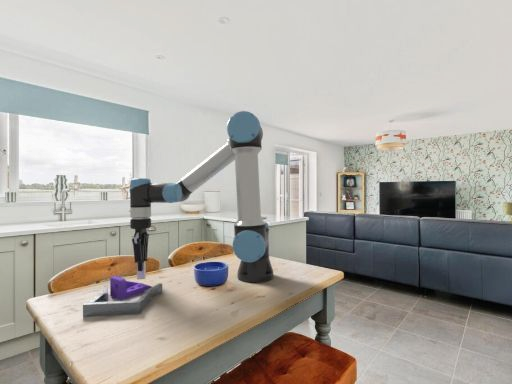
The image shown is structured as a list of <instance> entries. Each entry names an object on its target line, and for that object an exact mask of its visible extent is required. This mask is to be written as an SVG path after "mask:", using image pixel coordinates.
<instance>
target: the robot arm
mask: <svg viewBox="0 0 512 384" xmlns="http://www.w3.org/2000/svg"><path fill="white" fill-rule="evenodd" d="M226 132H227V135H228V138H227V142H226V143H225V144H224V145H223V146H221V147H220V148H218V149H217V150H216V151H214V153H212V154H211V155H210V156H208V157H206V159H204V160H203V161H202V162H201V163H199V164H198V165H197V166H195V167H194V168H193V169H192V170H191V171H189V172H188V173H187V174H186V175H184V176H183V177H182V178H180V180H178V181H177V182H176V183H175V182H168V183H167V182H164V183H163V182H161V183H152V181H151V179H150V178H145V177H144V178H143V177H142V178H131V180H130V183H129V197H130V198H129V203H130V204H129V205H130V208H129V210H128V212H129V213H130V214H129V216H130V221H129V222H130V223H129V225H130V226H129V227H130V229H131V230H134V234H133V237H132V239H131V242H132V248H133V257H134V261H133V262H134V263H135V264H136V279H137V280H145V279H146V275H147V273H146V262H148V261H149V259H148V251H149V249H148V248H149V236H150V234H149V233H148V231H147V229H150V228H151V227H152V218H151V217H152V204H153V203H154V204H155V203H157V204H158V203H160V204H161V203H162V204H164V203H165V204H166V203H167V204H174V203H181V202H184V201H187V200H188V199H189V197H190V196H191V194H193V193H194V192H195V191H196V190H198V189H199V188H200V187H201V186H203V185H204V184H206V183H207V182H208V181H209V180H211V179H212V178H213V177H215V176H216V175H218V174H219V173H220V171H222V170H224V169H225V168H226V167H227V166H229V165H230V164H231V163H232V162H234V166H235V168H234V169H235V183H236V184H235V185H236V186H235V188H236V189H235V190H236V204H237V205H236V206H237V221H236V222H235V223H233V227H234V229H233V230H234V237H233V241H232V251H233V254H234V255H235V256H236V257H237V259H238V260H240V261H239V262H240V263H239V266H238V269H237V272H236V273H237V279H238V280H239V281H242V282H245V283H264V282H265V283H266V282H269V281H272V279H274V275H275V274H274V269H273V266H272V264H271V261H270V236H269V235H270V227H269V225H270V224H269V223H268V222H265V221H264V220H263V218H262V213H261V194H260V193H261V191H260V190H261V189H260V172H259V171H260V170H259V153H260V152H261V151H262V140H263V135H264V134H263V133H264V132H263V128H262V126H261V122H260V120H259V118H258V117H257V116H256V115H255V114H254V113H252V112H251V111H248V110H247V111H246V110H241V111H237V112H235V113H233V114H232V115H231V116H230V117H229V119H228V121H227V123H226Z"/></svg>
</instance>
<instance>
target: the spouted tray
mask: <svg viewBox="0 0 512 384" xmlns="http://www.w3.org/2000/svg"><path fill="white" fill-rule="evenodd" d="M108 285H109V284H108ZM108 285H104V286H103V290H102V293H98V294H97V295H96V296H94V298H92V299H91V300H89V301H88V302H84V304H82V317H83V318H87V317H89V318H90V317H104V316H105V317H108V316H109V317H110V316H130V315H131V316H132V315H141V313H142V312H143V311H144V310H145V308H146V307H147V305H148V304H149V303H150V302H151V299H152V298H154V297H156V296H158V295H159V294H161V293H163V283H160V282H159V283H157V284H156V285H153V286H152V287H151V288H149V289H148V290H146V291H144V293H142V294H141V296H140V298H138V300H118V301H114V300H113V301H108V297H109V295H108V294H109V286H108Z"/></svg>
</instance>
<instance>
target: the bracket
mask: <svg viewBox="0 0 512 384" xmlns="http://www.w3.org/2000/svg"><path fill="white" fill-rule="evenodd" d="M109 281H110V283H109V287H110V288H109V289H110V290H109V293H110V297H111V296H112V297H111V298H114V299H116V300H118V301H124V300H126V299H128V298H133V297H135V296H138V295H143V294H144V291H146V290H148V289H149V288H151V287H153V286H151V285H148V284H145V283H142V282H138V281H136V282H135V281H130V280H126V279H125V277H121V276H118V275H114V276H110V277H109ZM123 299H124V300H123Z"/></svg>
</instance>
